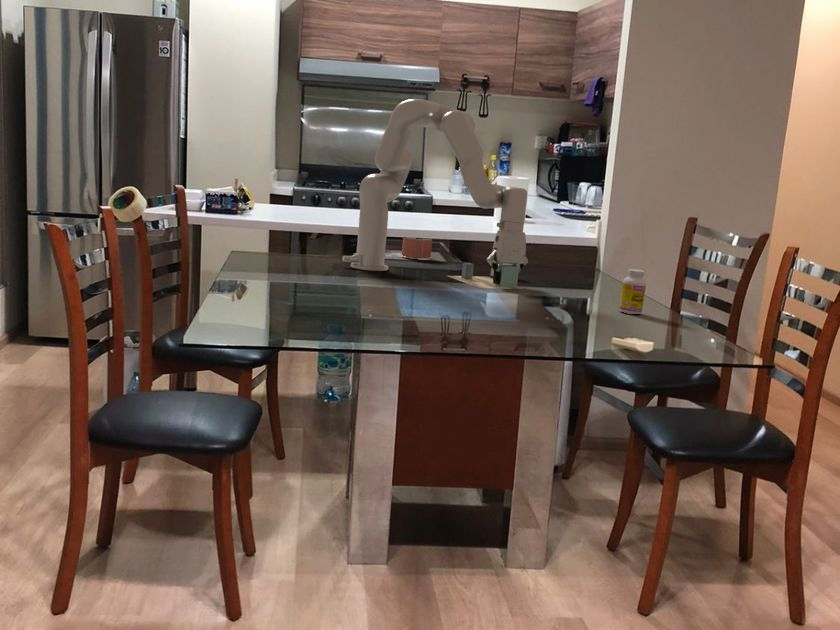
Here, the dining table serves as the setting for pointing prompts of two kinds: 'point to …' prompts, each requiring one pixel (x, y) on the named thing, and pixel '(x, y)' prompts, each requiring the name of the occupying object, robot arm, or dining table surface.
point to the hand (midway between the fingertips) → (504, 283)
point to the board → (482, 282)
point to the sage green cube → (508, 276)
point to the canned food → (416, 247)
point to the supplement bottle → (633, 292)
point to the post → (467, 271)
